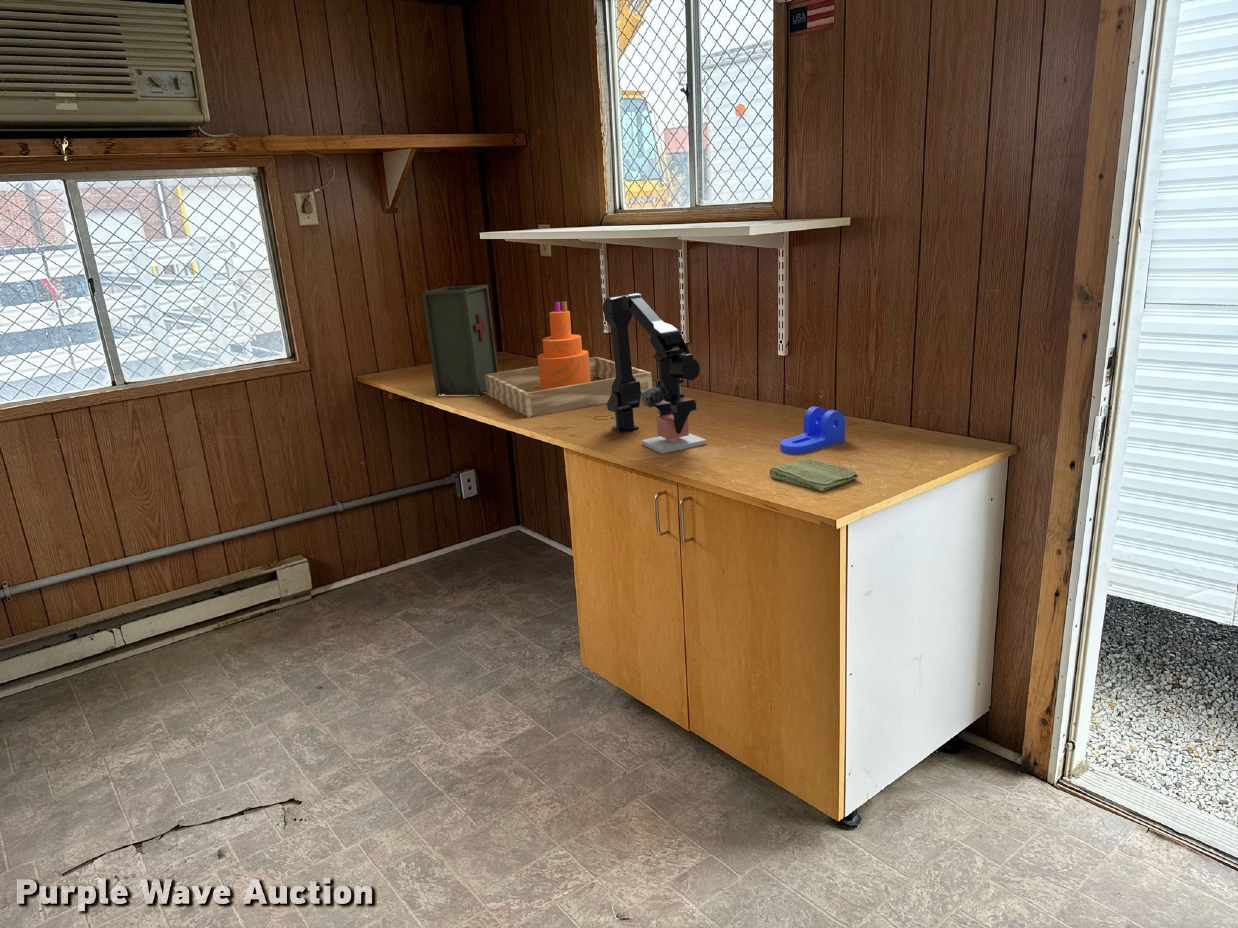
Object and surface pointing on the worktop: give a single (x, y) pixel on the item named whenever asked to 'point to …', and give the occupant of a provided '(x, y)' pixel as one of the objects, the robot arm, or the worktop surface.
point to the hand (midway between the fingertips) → (672, 431)
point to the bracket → (816, 431)
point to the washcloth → (812, 474)
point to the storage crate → (557, 389)
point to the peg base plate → (673, 443)
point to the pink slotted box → (670, 427)
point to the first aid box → (460, 338)
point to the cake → (562, 354)
